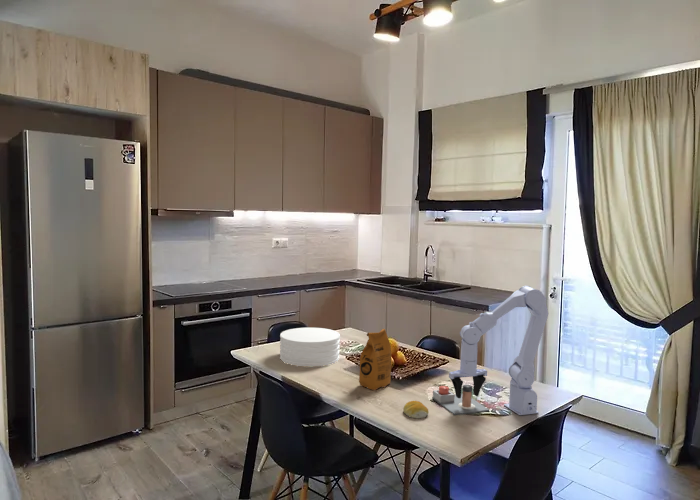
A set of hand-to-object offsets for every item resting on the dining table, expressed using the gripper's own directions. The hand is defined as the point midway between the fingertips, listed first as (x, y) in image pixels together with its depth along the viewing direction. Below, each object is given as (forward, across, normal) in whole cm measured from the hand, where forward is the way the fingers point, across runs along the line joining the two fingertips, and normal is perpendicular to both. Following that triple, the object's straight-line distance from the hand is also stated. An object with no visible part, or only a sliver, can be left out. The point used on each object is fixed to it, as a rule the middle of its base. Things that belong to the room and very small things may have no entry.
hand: (467, 396), depth 176 cm
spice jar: (+3, 0, 0) cm, 3 cm away
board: (+4, +1, -3) cm, 5 cm away
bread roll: (+4, +20, 0) cm, 21 cm away
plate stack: (+4, +41, -72) cm, 83 cm away
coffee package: (+4, +24, -30) cm, 39 cm away
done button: (+2, +5, -8) cm, 10 cm away
